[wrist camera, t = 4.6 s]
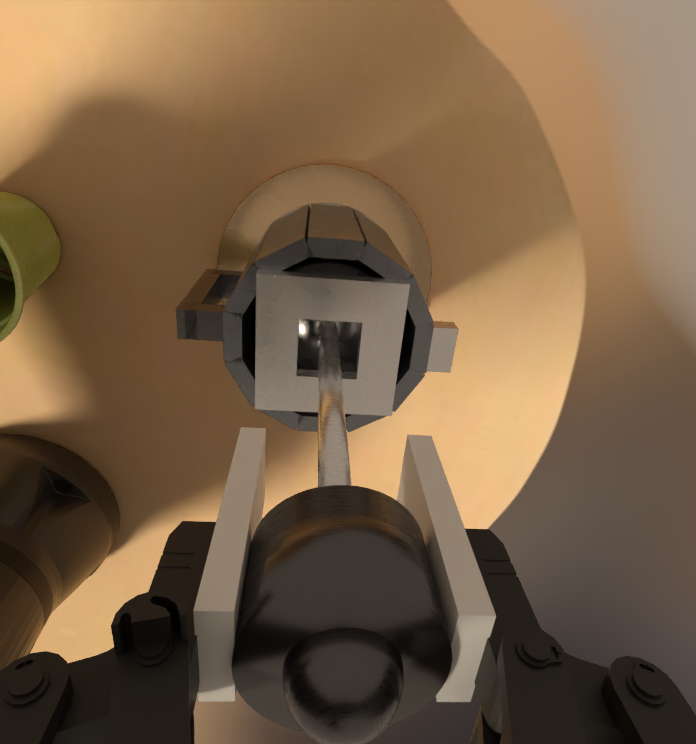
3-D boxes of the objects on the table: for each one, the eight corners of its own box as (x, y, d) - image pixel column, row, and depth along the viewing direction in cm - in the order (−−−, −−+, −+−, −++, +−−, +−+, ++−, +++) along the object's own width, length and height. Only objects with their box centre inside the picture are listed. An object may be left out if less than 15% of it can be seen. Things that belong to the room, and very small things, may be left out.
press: (218, 366, 39) (174, 470, 27) (213, 153, 33) (153, 169, 21) (413, 377, 41) (453, 481, 29) (445, 174, 34) (513, 201, 22)
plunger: (262, 376, 29) (157, 842, 10) (264, 254, 26) (121, 592, 7) (383, 382, 30) (496, 835, 11) (398, 264, 27) (591, 601, 8)
